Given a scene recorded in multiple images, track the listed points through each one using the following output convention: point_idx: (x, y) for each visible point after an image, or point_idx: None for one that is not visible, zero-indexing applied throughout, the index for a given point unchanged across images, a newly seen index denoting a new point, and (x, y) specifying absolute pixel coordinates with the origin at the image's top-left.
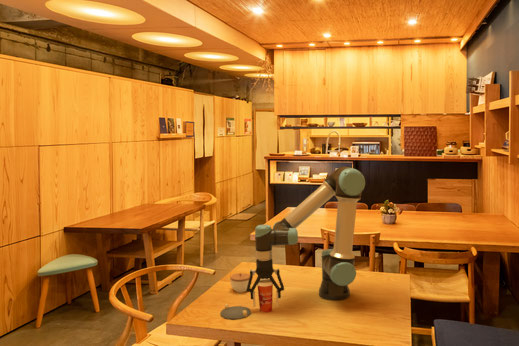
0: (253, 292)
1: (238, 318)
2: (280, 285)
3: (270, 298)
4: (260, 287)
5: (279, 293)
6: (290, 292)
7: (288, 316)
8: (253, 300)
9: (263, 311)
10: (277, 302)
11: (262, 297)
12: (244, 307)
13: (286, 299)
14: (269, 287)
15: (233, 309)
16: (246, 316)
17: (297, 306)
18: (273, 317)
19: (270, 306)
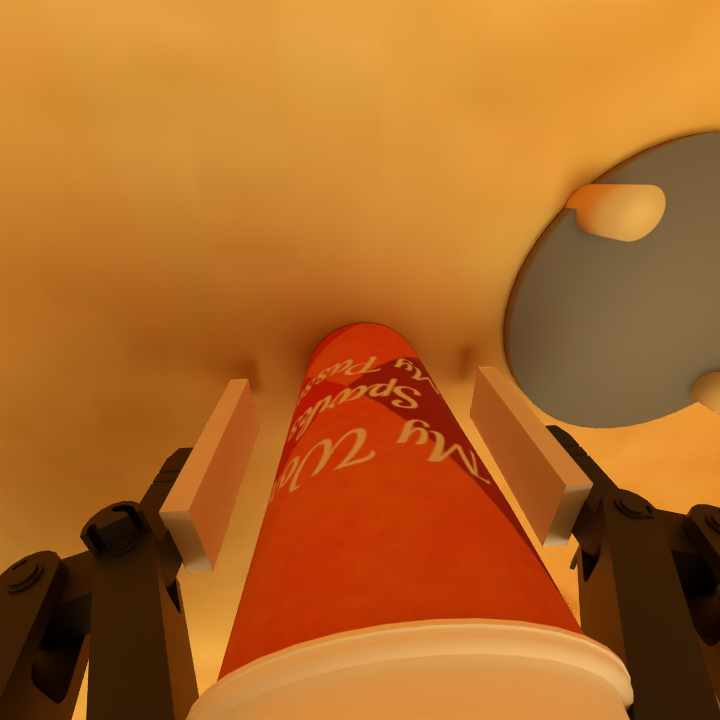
0: (574, 509)
1: (681, 139)
2: (1, 683)
3: (302, 416)
4: (536, 587)
5: (154, 505)
6: (218, 617)
7: (98, 197)
8: (527, 406)
9: (387, 328)
10: (228, 402)
11: (425, 409)
12: (553, 404)
13: (222, 542)
14: (283, 596)
15: (659, 365)
16: (580, 194)
17: (93, 438)
18: (272, 175)
19: (315, 362)
